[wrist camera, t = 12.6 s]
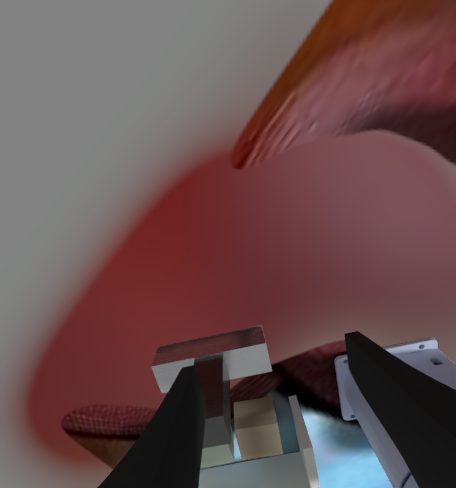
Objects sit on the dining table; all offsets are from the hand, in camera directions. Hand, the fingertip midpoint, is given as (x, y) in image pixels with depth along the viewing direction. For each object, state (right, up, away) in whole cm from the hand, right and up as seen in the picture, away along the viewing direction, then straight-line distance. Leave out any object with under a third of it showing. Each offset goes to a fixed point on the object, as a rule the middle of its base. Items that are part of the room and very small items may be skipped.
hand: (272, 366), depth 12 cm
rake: (-3, -4, +12) cm, 14 cm away
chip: (+1, -12, +15) cm, 19 cm away
